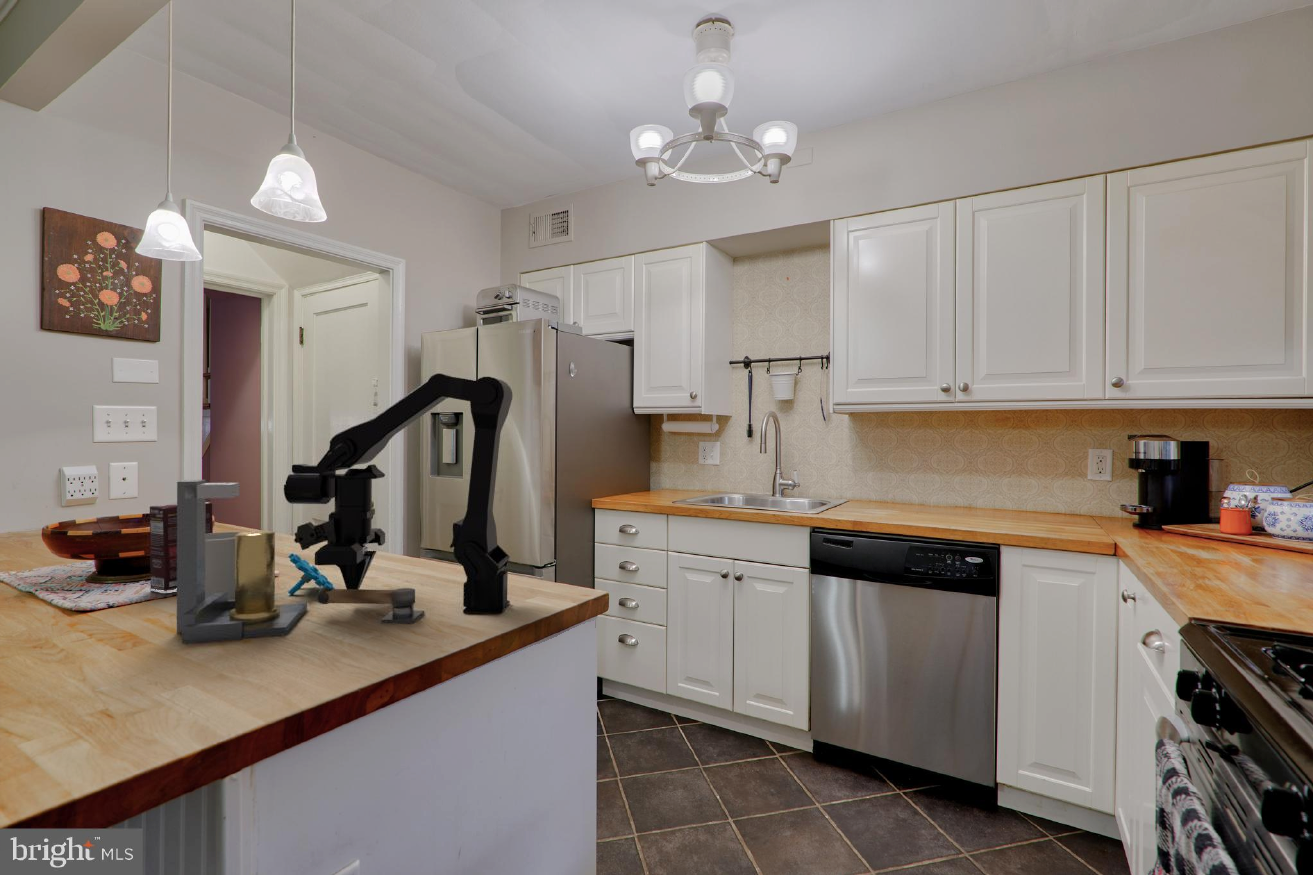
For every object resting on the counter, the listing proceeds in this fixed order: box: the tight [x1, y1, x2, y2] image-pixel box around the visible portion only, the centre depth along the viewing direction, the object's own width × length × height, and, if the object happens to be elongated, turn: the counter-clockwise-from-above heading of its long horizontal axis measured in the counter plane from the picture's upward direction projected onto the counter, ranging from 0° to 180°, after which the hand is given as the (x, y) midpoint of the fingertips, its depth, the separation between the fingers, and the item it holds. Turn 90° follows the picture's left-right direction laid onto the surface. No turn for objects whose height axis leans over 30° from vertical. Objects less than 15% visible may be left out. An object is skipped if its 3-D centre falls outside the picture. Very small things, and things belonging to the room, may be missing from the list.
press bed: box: [176, 479, 308, 644], centre depth 96 cm, size 16×14×22 cm
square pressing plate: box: [380, 603, 425, 625], centre depth 101 cm, size 5×5×2 cm
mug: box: [205, 531, 243, 600], centre depth 113 cm, size 12×8×11 cm
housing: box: [229, 530, 280, 624], centre depth 96 cm, size 7×7×13 cm
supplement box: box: [149, 501, 214, 591], centre depth 116 cm, size 9×5×16 cm, turn 157°
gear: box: [287, 552, 336, 596], centre depth 115 cm, size 11×6×10 cm
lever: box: [316, 587, 416, 607], centre depth 101 cm, size 16×4×3 cm, turn 90°
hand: (352, 595), depth 106 cm, fingers closed
